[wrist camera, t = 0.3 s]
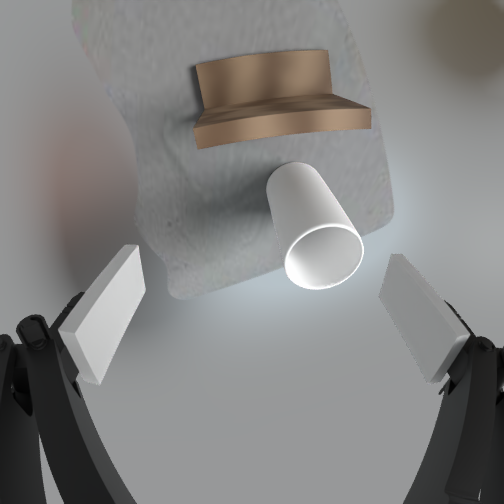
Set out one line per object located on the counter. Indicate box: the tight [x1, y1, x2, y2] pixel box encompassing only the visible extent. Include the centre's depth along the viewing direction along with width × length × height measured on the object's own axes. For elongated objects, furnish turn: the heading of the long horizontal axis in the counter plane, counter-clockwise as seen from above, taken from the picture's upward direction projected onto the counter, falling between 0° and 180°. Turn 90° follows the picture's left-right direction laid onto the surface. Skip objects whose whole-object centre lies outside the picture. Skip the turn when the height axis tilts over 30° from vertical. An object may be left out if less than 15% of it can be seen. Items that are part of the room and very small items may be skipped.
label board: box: [193, 50, 371, 149], centre depth 25 cm, size 16×8×12 cm, turn 99°
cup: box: [266, 162, 364, 290], centre depth 33 cm, size 8×8×16 cm
